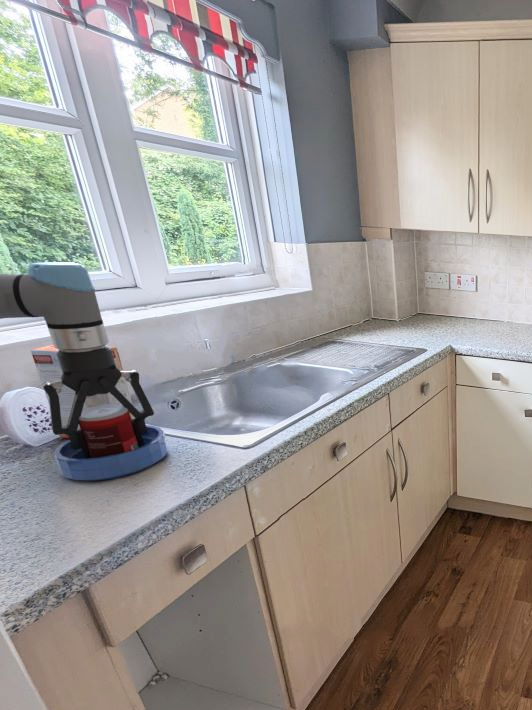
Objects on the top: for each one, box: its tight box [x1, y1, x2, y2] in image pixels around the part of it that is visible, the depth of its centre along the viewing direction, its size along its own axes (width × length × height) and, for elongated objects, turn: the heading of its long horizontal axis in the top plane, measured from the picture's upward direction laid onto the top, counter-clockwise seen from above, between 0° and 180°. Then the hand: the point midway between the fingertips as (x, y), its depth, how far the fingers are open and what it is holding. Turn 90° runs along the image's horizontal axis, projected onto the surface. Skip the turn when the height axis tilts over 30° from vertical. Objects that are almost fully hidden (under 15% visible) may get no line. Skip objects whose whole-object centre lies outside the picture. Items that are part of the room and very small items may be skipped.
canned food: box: [79, 404, 139, 458], centre depth 92 cm, size 8×8×11 cm
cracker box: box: [30, 344, 135, 439], centre depth 102 cm, size 14×6×21 cm, turn 88°
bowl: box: [53, 424, 169, 482], centre depth 93 cm, size 17×17×5 cm
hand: (116, 454), depth 93 cm, fingers closed on canned food, 8 cm apart
